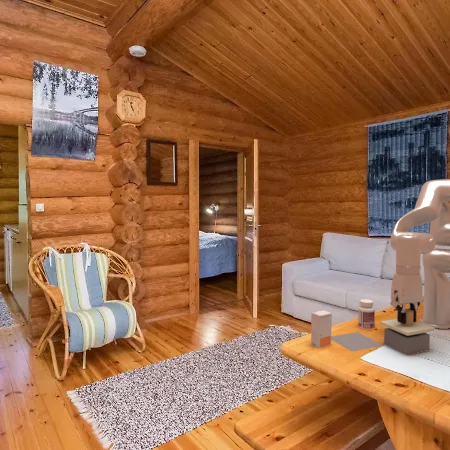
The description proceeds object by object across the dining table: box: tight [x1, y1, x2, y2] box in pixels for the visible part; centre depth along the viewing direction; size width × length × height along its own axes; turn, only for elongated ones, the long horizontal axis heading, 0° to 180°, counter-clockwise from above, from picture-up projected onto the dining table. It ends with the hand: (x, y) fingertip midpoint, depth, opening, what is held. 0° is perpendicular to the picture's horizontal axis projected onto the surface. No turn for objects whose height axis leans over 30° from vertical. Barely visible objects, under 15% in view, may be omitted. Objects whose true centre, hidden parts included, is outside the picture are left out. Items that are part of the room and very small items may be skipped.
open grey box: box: [383, 327, 431, 356], centre depth 126 cm, size 10×10×6 cm
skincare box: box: [310, 310, 333, 349], centre depth 129 cm, size 6×4×12 cm
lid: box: [379, 308, 436, 336], centre depth 125 cm, size 12×12×6 cm
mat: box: [331, 331, 385, 352], centre depth 132 cm, size 14×14×1 cm
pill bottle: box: [357, 298, 376, 331], centre depth 146 cm, size 6×6×11 cm
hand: (406, 321), depth 126 cm, fingers closed on lid, 3 cm apart
